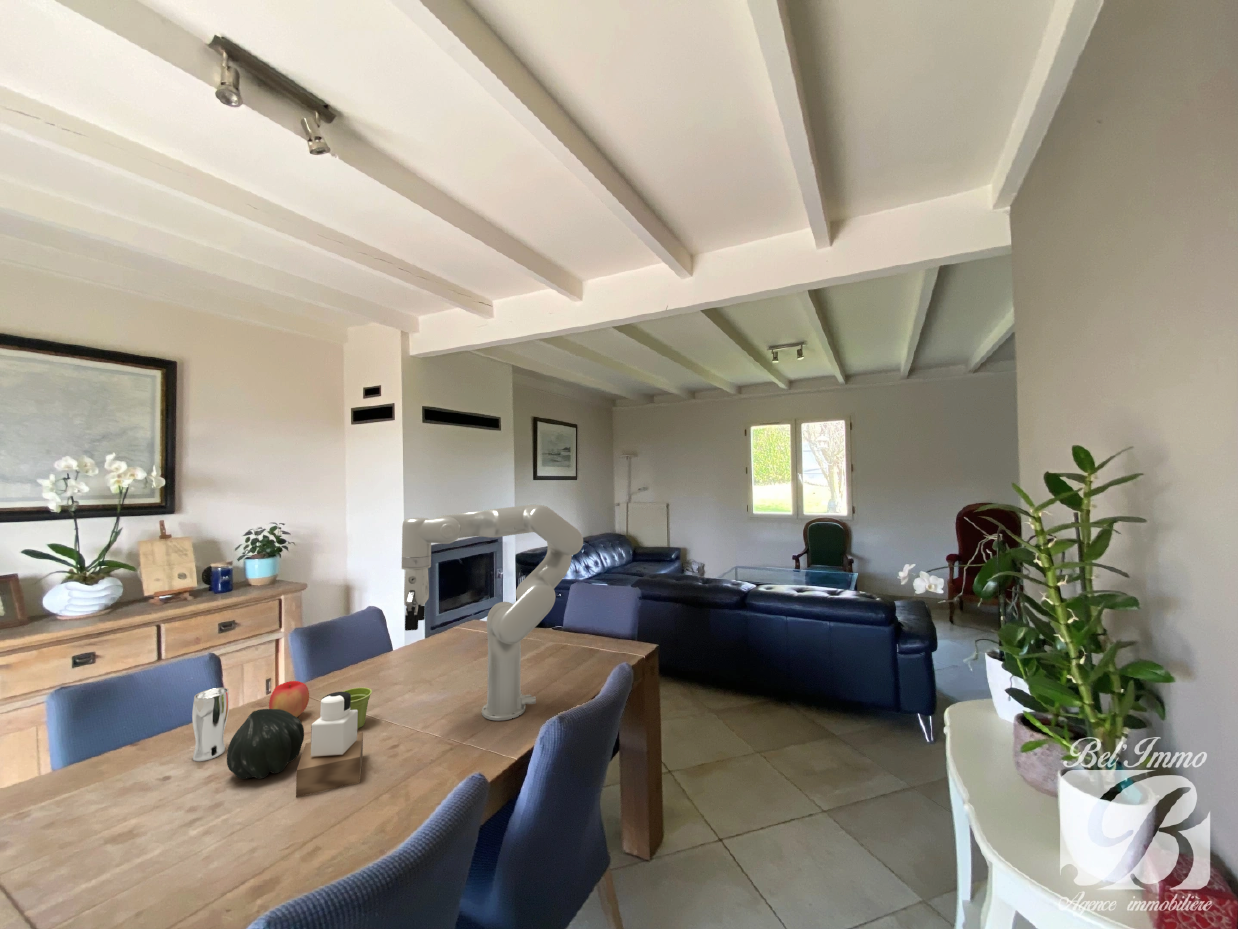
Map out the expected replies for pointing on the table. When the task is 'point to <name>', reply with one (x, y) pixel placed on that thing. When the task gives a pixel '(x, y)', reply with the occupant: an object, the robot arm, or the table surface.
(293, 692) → the apple
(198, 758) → the silver metal vase
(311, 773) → the walnut block
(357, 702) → the plant pot
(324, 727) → the medicine bottle
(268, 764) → the squash
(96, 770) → the table surface
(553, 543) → the robot arm
